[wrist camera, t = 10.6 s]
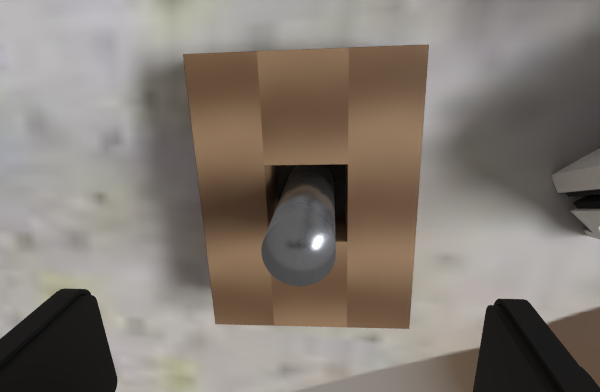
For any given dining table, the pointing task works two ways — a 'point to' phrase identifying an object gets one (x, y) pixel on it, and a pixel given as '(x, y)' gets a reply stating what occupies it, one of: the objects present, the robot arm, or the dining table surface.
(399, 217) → the block with square hole
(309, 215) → the pin
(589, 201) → the grey half-round piece
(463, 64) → the dining table surface
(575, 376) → the robot arm
